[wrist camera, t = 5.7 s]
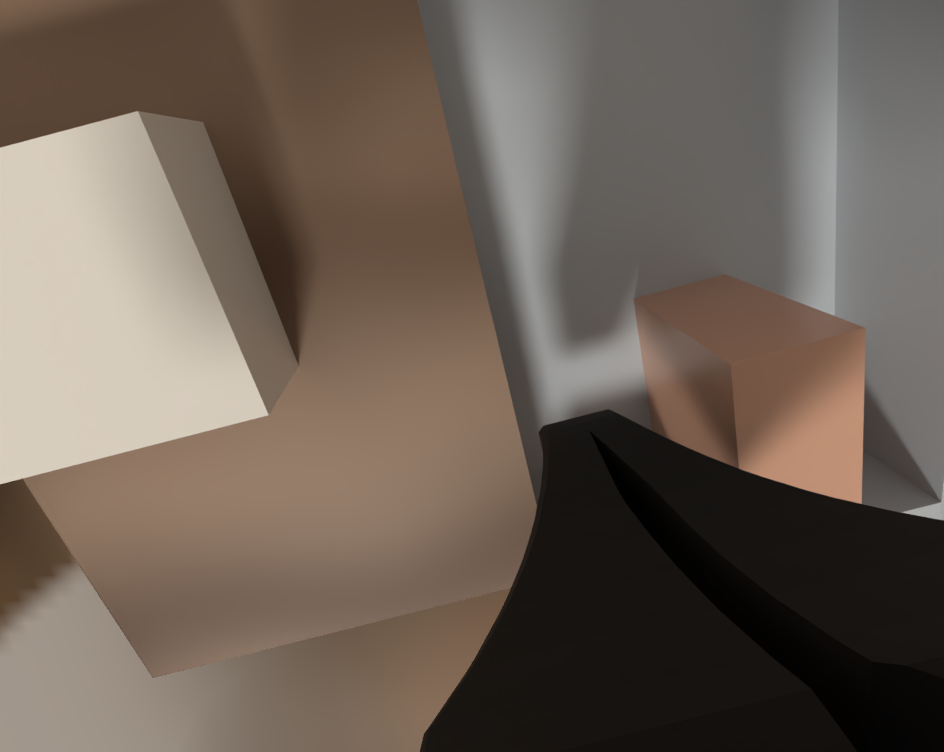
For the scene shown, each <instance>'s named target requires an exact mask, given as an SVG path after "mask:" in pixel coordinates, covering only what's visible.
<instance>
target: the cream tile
mask: <svg viewBox="0 0 944 752" xmlns="http://www.w3.org/2000/svg"><path fill="white" fill-rule="evenodd" d="M297 368H298V363H297V360H296V358H295V355H294V353H293V350H292V348H291V345H290V343H289V340H288V337H287V335H286V332H285V330H284V327H283V325H282V322H281V320H280V317H279V315H278V312H277V309H276V307H275V304H274V302H273V299H272V297H271V294H270V292H269V289H268V286H267V284H266V281H265V279H264V276H263V274H262V271H261V269H260V266H259V263H258V261H257V258H256V256H255V253H254V251H253V248H252V246H251V243H250V241H249V238H248V235H247V233H246V230H245V228H244V225H243V223H242V220H241V218H240V215H239V212H238V210H237V207H236V205H235V202H234V200H233V197H232V195H231V192H230V189H229V187H228V184H227V182H226V179H225V177H224V174H223V172H222V169H221V167H220V164H219V161H218V159H217V156H216V154H215V151H214V149H213V146H212V144H211V141H210V138H209V136H208V133H207V131H206V128H205V126H204V123H203V122H199V121H193V120H188V119H182V118H176V117H170V116H164V115H158V114H152V113H146V112H140V111H136V112H132V113H129V114H125V115H121V116H117V117H114V118H110V119H106V120H102V121H99V122H95V123H91V124H87V125H84V126H80V127H76V128H72V129H69V130H65V131H61V132H57V133H54V134H50V135H46V136H42V137H39V138H35V139H31V140H27V141H24V142H20V143H16V144H12V145H9V146H5V147H1V148H0V484H3V483H7V482H11V481H15V480H19V479H23V478H27V477H31V476H35V475H38V474H42V473H46V472H50V471H54V470H58V469H62V468H66V467H69V466H73V465H77V464H81V463H85V462H89V461H93V460H97V459H101V458H104V457H108V456H112V455H116V454H120V453H124V452H128V451H132V450H136V449H139V448H143V447H147V446H151V445H155V444H159V443H163V442H167V441H170V440H174V439H178V438H182V437H186V436H190V435H194V434H198V433H202V432H205V431H209V430H213V429H217V428H221V427H225V426H229V425H233V424H237V423H240V422H244V421H248V420H252V419H256V418H260V417H264V416H268V415H269V414H270V412H271V411H272V409H273V407H274V406H275V404H276V402H277V401H278V399H279V398H280V396H281V394H282V393H283V391H284V389H285V388H286V386H287V384H288V383H289V381H290V379H291V378H292V376H293V374H294V373H295V371H296V370H297Z"/></svg>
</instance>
